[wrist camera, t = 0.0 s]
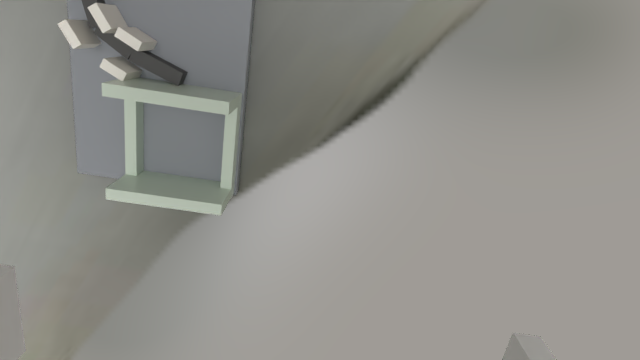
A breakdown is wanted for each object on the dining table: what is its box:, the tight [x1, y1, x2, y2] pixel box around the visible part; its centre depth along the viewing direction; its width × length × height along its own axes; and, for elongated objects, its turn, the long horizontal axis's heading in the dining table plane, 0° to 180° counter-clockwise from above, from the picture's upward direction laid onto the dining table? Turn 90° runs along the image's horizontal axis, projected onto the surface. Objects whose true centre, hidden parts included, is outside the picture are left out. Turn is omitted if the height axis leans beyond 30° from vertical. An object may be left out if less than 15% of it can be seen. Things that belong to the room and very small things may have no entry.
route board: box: [58, 0, 255, 195], centre depth 34 cm, size 19×15×4 cm
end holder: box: [102, 77, 242, 216], centre depth 34 cm, size 10×10×5 cm
